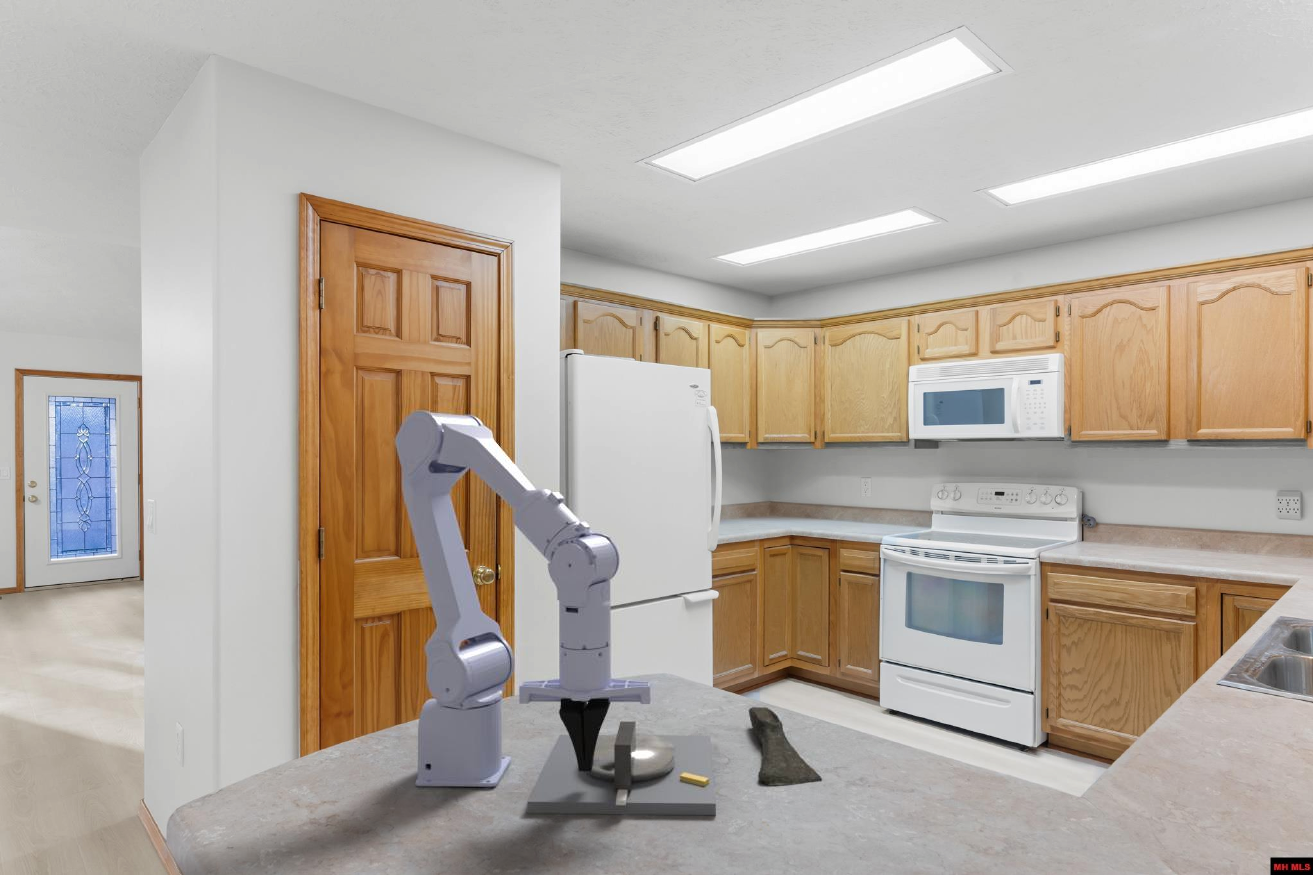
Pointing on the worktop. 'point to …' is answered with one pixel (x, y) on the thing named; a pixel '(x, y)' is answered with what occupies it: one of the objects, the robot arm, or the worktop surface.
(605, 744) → the dial
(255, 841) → the worktop surface
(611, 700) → the robot arm
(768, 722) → the tool
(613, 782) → the board
